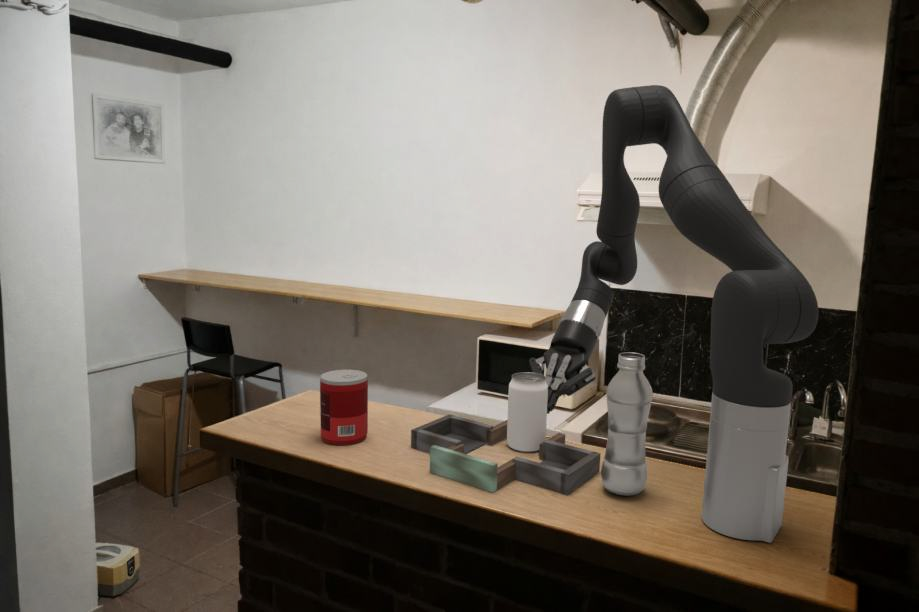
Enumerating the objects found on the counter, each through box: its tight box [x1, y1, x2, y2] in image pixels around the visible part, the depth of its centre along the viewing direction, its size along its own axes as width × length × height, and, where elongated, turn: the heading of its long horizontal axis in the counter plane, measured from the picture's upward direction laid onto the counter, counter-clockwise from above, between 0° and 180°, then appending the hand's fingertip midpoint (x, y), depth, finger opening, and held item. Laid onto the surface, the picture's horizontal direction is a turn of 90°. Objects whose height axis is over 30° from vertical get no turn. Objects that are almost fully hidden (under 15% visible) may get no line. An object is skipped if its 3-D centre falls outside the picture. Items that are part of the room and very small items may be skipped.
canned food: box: [319, 369, 369, 446], centre depth 118 cm, size 8×8×11 cm
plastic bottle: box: [600, 351, 654, 496], centre depth 98 cm, size 6×7×20 cm
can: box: [506, 371, 548, 453], centre depth 116 cm, size 6×6×12 cm
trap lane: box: [410, 413, 602, 496], centre depth 110 cm, size 29×22×4 cm
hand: (543, 410), depth 120 cm, fingers closed
